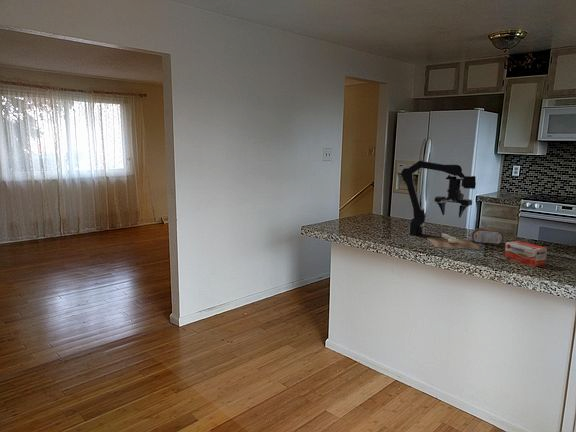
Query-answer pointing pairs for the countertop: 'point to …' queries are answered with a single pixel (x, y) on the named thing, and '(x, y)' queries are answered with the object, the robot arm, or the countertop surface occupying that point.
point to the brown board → (460, 243)
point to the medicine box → (525, 253)
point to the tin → (487, 236)
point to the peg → (449, 238)
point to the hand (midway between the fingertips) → (451, 216)
